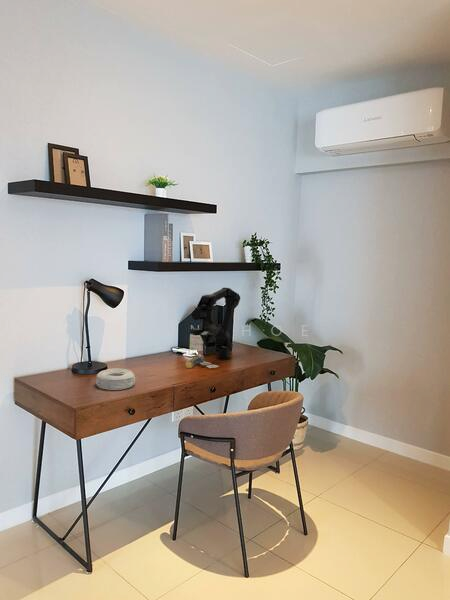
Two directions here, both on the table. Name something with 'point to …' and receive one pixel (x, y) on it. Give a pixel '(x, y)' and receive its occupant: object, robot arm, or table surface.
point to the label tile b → (212, 366)
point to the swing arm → (195, 361)
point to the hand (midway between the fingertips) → (205, 346)
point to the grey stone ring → (115, 379)
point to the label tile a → (205, 363)
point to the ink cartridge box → (196, 343)
